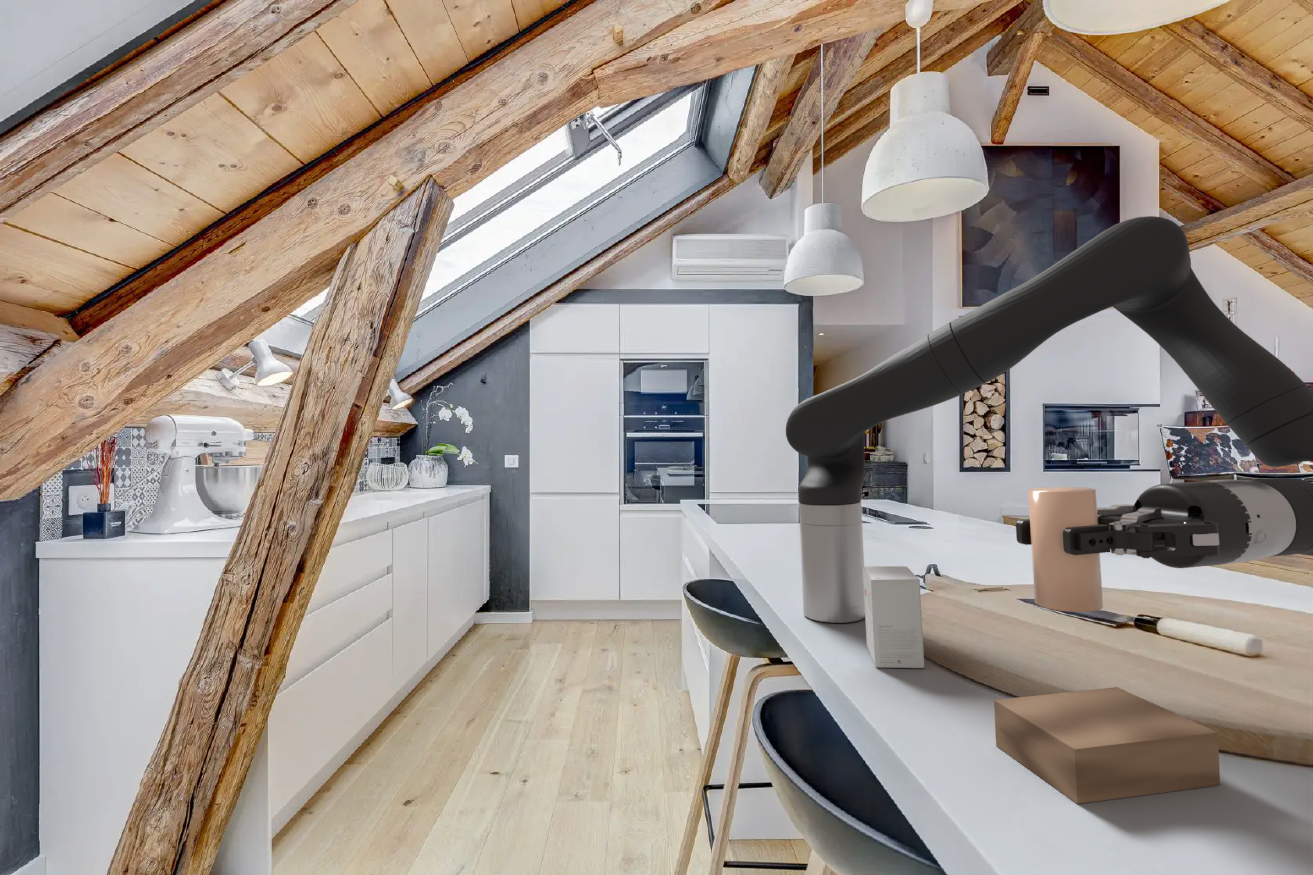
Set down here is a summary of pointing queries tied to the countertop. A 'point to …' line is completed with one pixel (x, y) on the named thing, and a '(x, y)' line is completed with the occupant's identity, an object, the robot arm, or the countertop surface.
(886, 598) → the small box
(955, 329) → the robot arm
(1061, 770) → the walnut plinth
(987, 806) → the countertop surface
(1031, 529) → the terracotta canister
